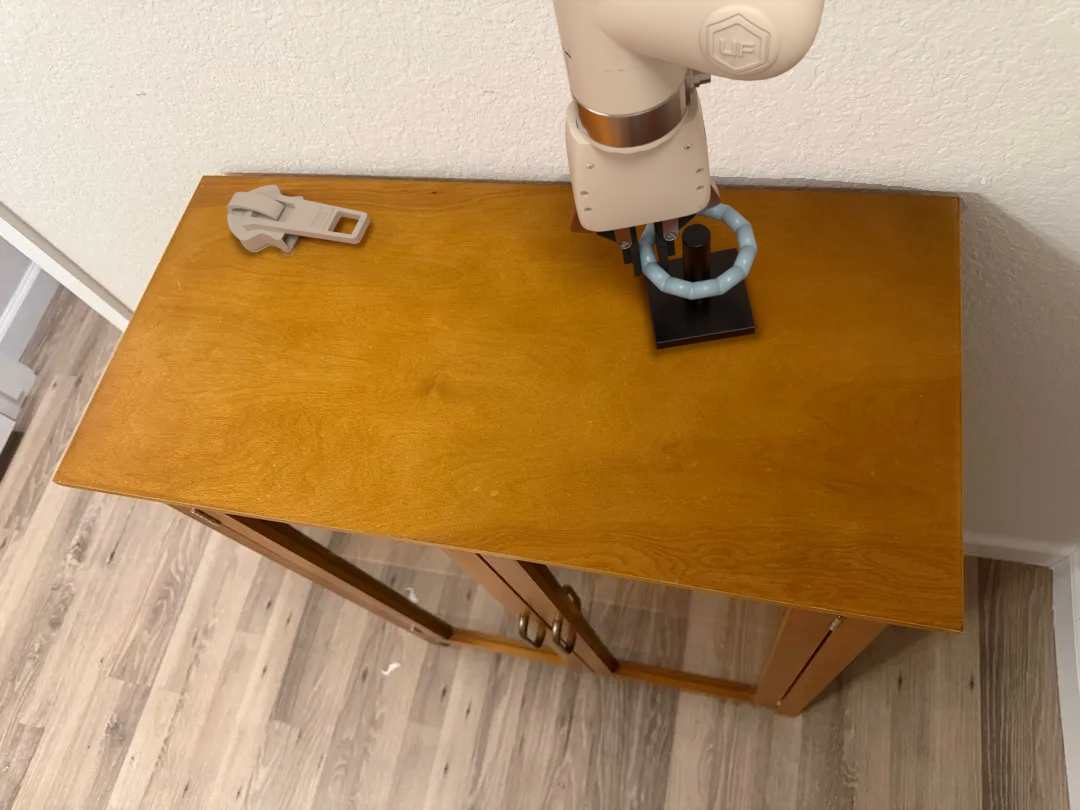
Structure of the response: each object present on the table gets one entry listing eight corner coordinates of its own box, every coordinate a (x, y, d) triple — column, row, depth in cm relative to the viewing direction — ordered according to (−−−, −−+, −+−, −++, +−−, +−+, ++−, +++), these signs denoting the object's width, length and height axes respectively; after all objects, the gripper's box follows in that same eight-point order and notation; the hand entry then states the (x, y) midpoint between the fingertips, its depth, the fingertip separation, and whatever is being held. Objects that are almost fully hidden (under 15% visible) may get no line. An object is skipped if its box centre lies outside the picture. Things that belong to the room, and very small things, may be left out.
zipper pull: (358, 273, 83) (341, 249, 79) (224, 246, 88) (202, 222, 84) (387, 215, 86) (372, 189, 82) (255, 192, 91) (236, 167, 87)
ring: (742, 198, 68) (743, 187, 67) (766, 290, 64) (767, 281, 62) (631, 218, 69) (630, 208, 68) (648, 310, 65) (647, 301, 64)
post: (736, 254, 75) (740, 183, 66) (754, 333, 71) (762, 269, 62) (643, 271, 76) (635, 203, 67) (656, 349, 72) (649, 288, 63)
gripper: (740, 29, 51) (732, 209, 67) (510, 80, 53) (556, 243, 70) (763, 110, 48) (750, 279, 64) (517, 161, 50) (564, 312, 66)
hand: (649, 259), depth 67 cm, fingers closed on ring, 1 cm apart
